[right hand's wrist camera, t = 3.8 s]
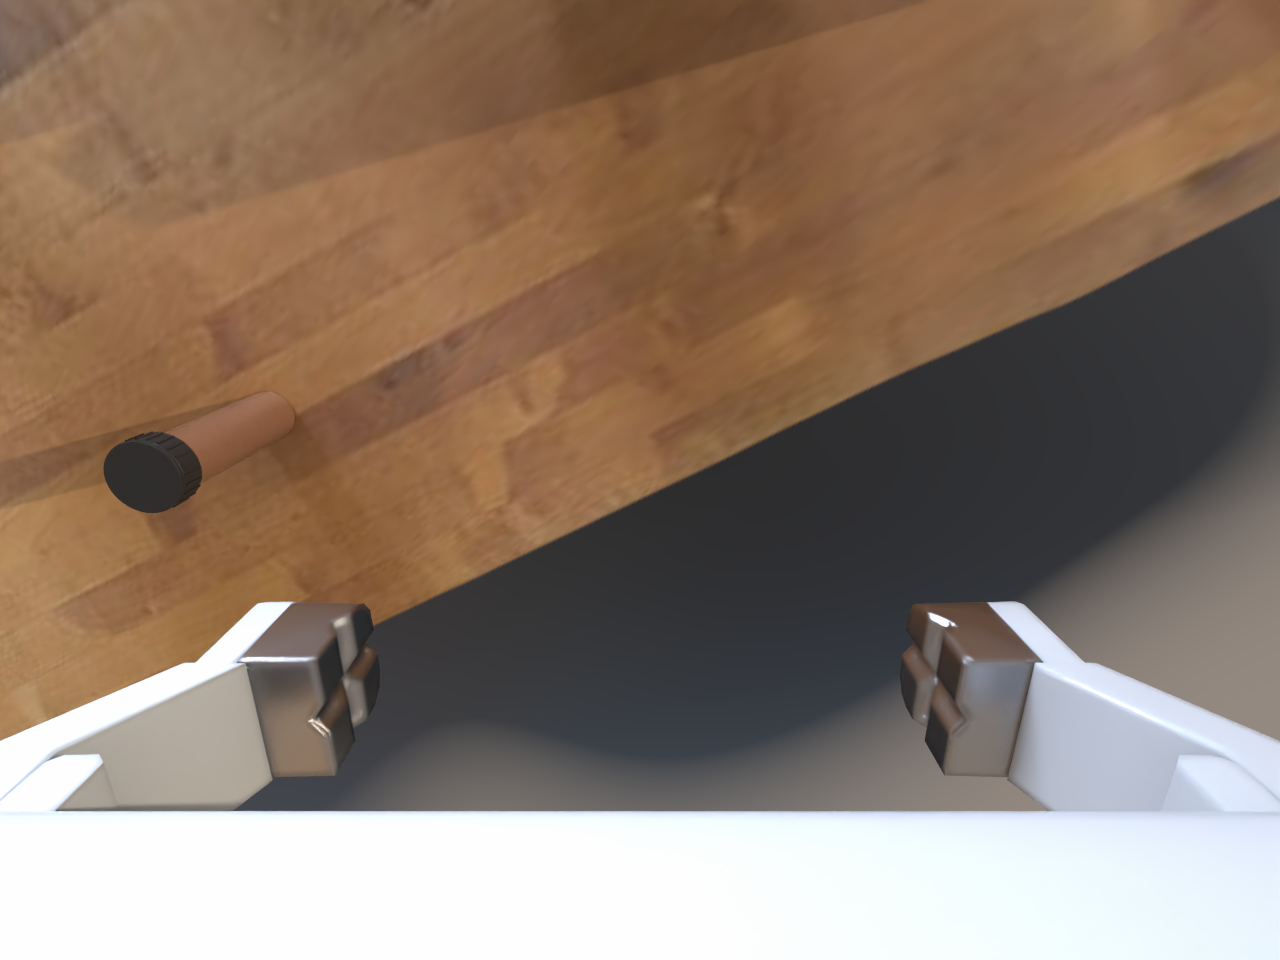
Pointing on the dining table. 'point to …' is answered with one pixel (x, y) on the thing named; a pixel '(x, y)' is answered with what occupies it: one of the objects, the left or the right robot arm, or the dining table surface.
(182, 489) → the lid
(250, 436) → the brown tall cylinder
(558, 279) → the dining table surface
